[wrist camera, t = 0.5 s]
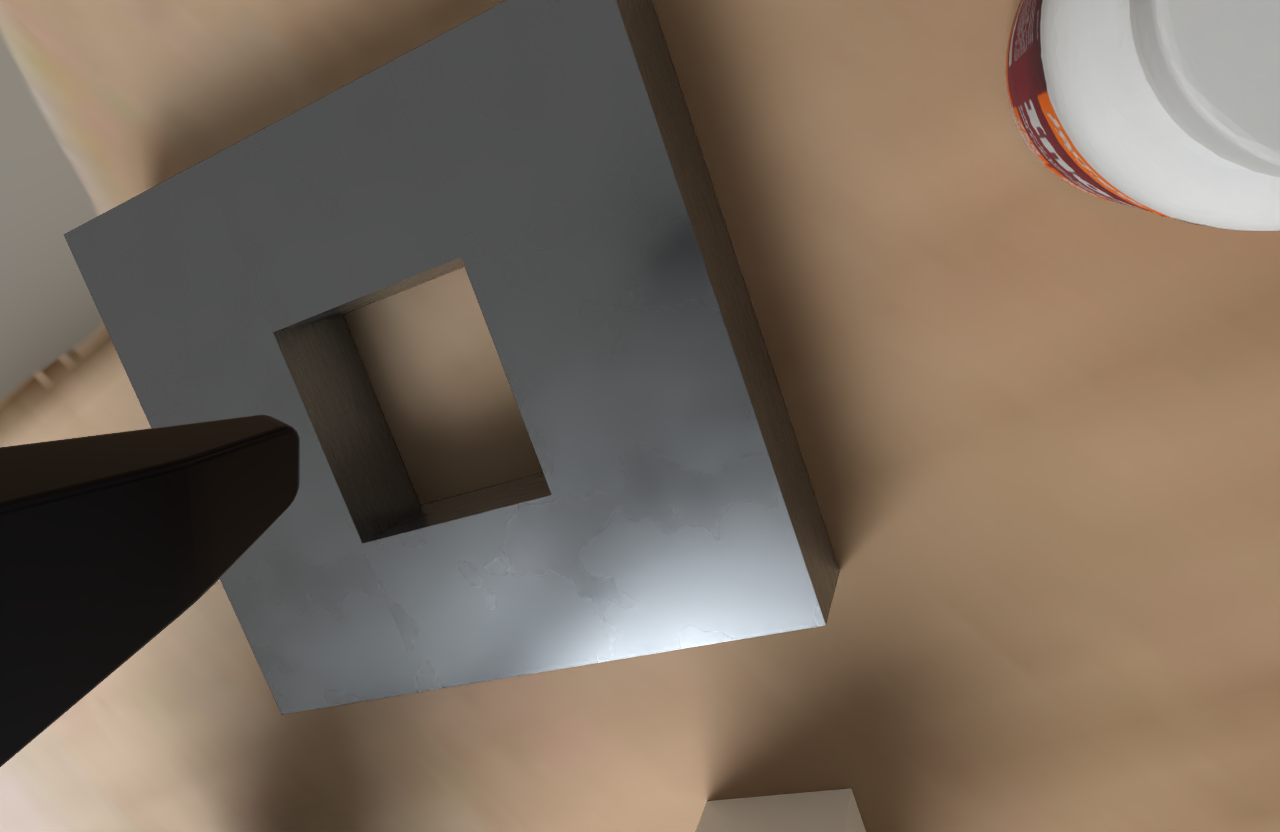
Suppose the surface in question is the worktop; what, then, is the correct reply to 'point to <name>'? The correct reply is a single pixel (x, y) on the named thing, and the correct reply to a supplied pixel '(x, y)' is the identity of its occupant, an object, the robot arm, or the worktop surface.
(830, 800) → the white rectangular block
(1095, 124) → the pill bottle
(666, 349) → the jig plate
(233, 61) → the worktop surface
